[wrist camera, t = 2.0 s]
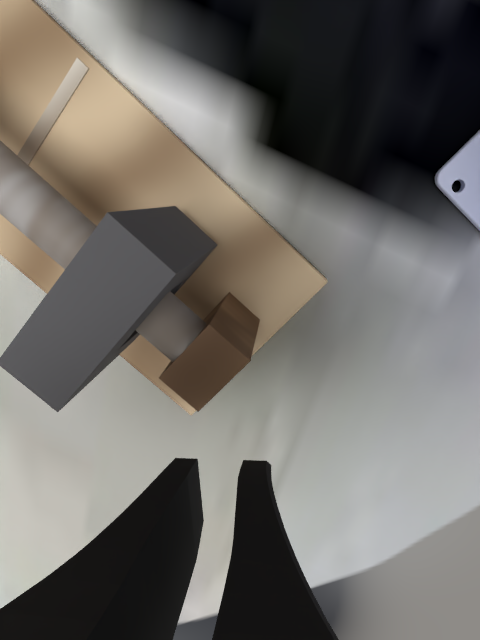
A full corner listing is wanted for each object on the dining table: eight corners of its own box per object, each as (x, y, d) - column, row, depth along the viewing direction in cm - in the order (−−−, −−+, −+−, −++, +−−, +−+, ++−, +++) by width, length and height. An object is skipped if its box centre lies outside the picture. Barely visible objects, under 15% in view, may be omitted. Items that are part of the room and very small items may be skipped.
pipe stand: (326, 278, 19) (341, 313, 13) (194, 407, 22) (161, 480, 16) (-14, -45, 17) (-169, -168, 11) (-110, 149, 20) (-270, 131, 14)
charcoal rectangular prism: (217, 244, 17) (176, 273, 11) (134, 339, 19) (57, 412, 13) (175, 205, 17) (107, 212, 10) (95, 306, 19) (-4, 363, 12)
